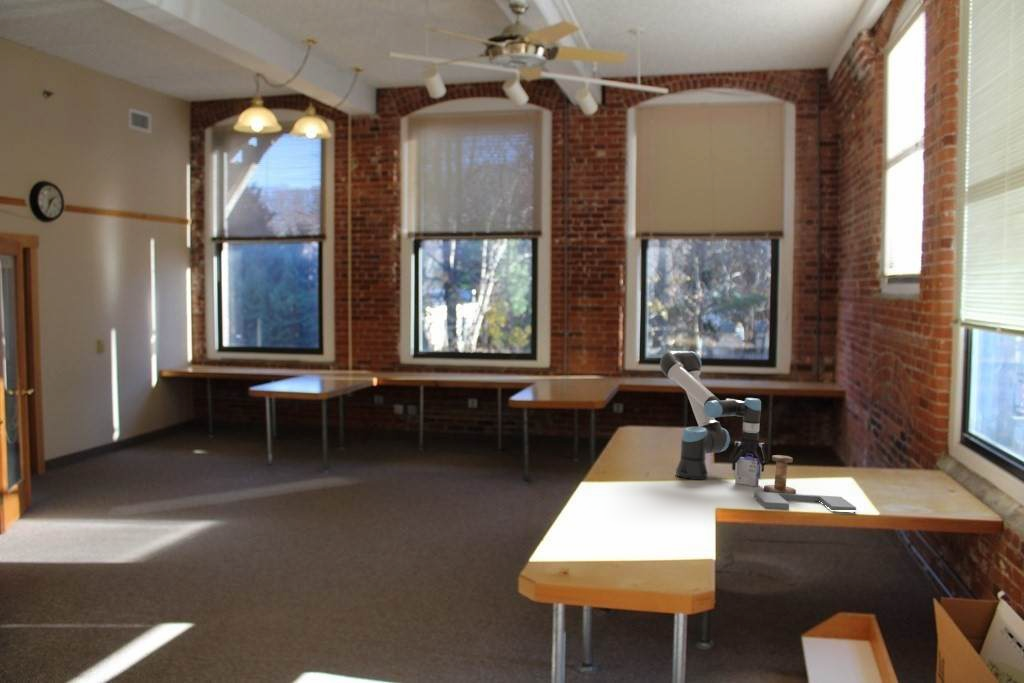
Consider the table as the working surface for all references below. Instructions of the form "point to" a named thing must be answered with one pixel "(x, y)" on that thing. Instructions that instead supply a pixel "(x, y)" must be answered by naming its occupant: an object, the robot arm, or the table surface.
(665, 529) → the table surface
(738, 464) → the ink cartridge box
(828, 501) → the notched board
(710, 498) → the table surface
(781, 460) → the bobbin
